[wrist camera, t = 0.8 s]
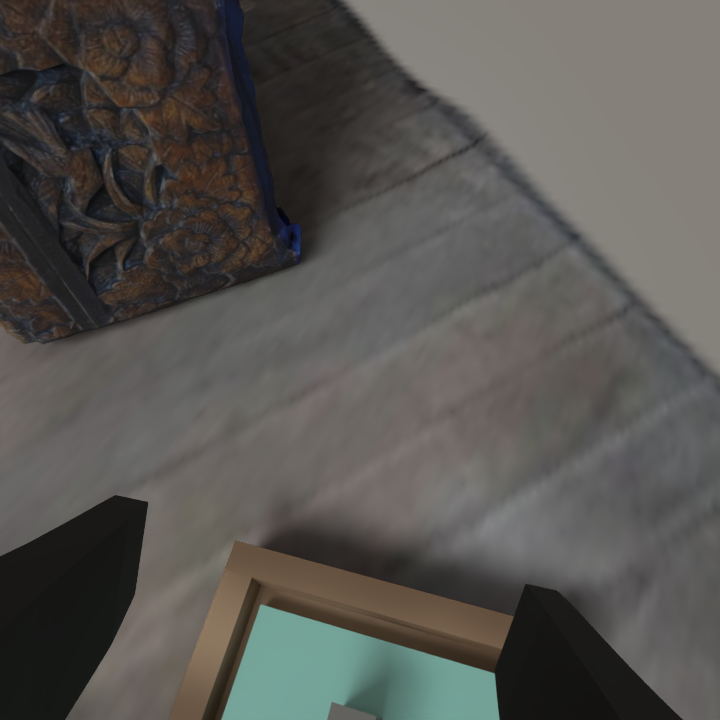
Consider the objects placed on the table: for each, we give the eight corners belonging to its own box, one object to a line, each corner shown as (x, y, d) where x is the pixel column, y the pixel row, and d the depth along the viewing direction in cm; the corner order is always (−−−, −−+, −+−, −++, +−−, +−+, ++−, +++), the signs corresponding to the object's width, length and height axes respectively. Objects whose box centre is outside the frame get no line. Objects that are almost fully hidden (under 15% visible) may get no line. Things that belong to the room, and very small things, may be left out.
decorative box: (202, 24, 53) (-45, 82, 48) (129, -322, 36) (-262, -284, 31) (350, 272, 38) (11, 391, 33) (345, -124, 21) (-348, 5, 16)
